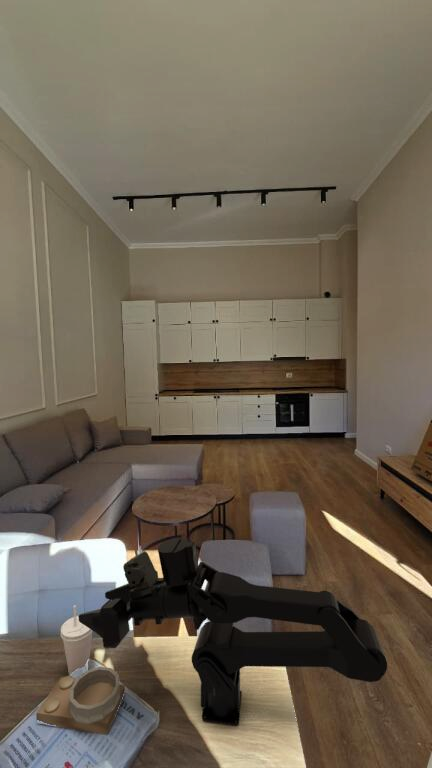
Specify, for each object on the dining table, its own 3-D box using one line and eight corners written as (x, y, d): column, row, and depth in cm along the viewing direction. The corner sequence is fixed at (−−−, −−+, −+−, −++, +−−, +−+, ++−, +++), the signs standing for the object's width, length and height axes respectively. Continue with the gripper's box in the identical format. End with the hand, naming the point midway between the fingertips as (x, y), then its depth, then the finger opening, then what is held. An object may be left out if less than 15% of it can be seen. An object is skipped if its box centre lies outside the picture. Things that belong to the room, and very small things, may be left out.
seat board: (127, 692, 68) (126, 669, 68) (107, 737, 60) (106, 711, 59) (62, 684, 70) (62, 662, 70) (34, 726, 62) (34, 701, 61)
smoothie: (54, 677, 72) (52, 608, 71) (80, 654, 77) (78, 591, 77) (77, 690, 69) (75, 619, 68) (102, 665, 74) (100, 599, 74)
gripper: (178, 539, 76) (112, 546, 79) (142, 573, 58) (58, 581, 61) (186, 595, 75) (118, 600, 78) (150, 648, 56) (64, 652, 60)
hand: (93, 605), depth 69 cm, fingers open, 9 cm apart
